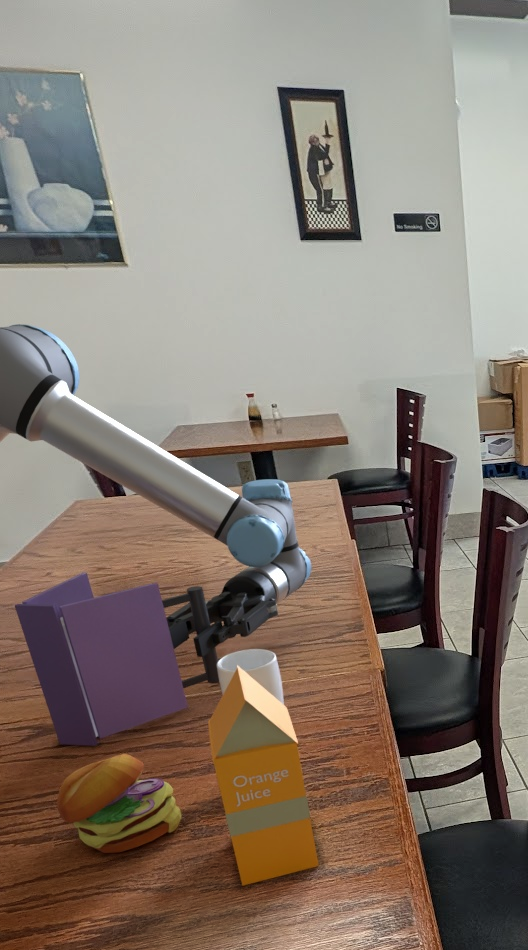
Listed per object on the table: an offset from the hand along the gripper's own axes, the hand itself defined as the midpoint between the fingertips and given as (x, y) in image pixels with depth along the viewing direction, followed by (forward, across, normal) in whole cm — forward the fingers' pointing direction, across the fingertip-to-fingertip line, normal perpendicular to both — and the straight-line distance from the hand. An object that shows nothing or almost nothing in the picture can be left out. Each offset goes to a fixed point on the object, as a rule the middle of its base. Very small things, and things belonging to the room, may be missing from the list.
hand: (179, 647), depth 112 cm
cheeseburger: (+28, -8, -10) cm, 31 cm away
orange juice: (+30, -26, -10) cm, 41 cm away
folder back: (+4, +11, -10) cm, 15 cm away
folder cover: (+2, +3, -10) cm, 10 cm away
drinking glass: (+14, -18, -10) cm, 25 cm away
